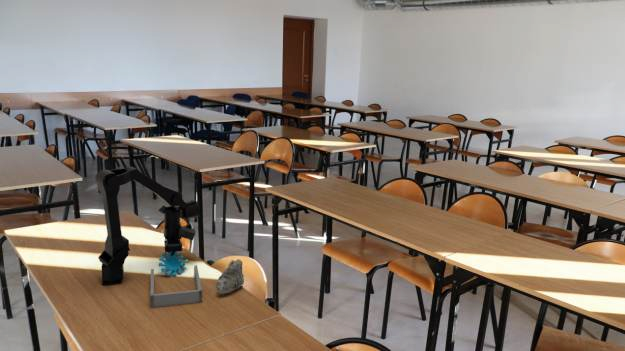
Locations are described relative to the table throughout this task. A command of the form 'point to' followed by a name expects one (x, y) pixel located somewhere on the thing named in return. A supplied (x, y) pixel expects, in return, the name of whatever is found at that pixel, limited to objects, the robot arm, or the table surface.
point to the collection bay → (176, 294)
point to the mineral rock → (230, 278)
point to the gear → (172, 263)
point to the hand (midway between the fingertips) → (173, 259)
